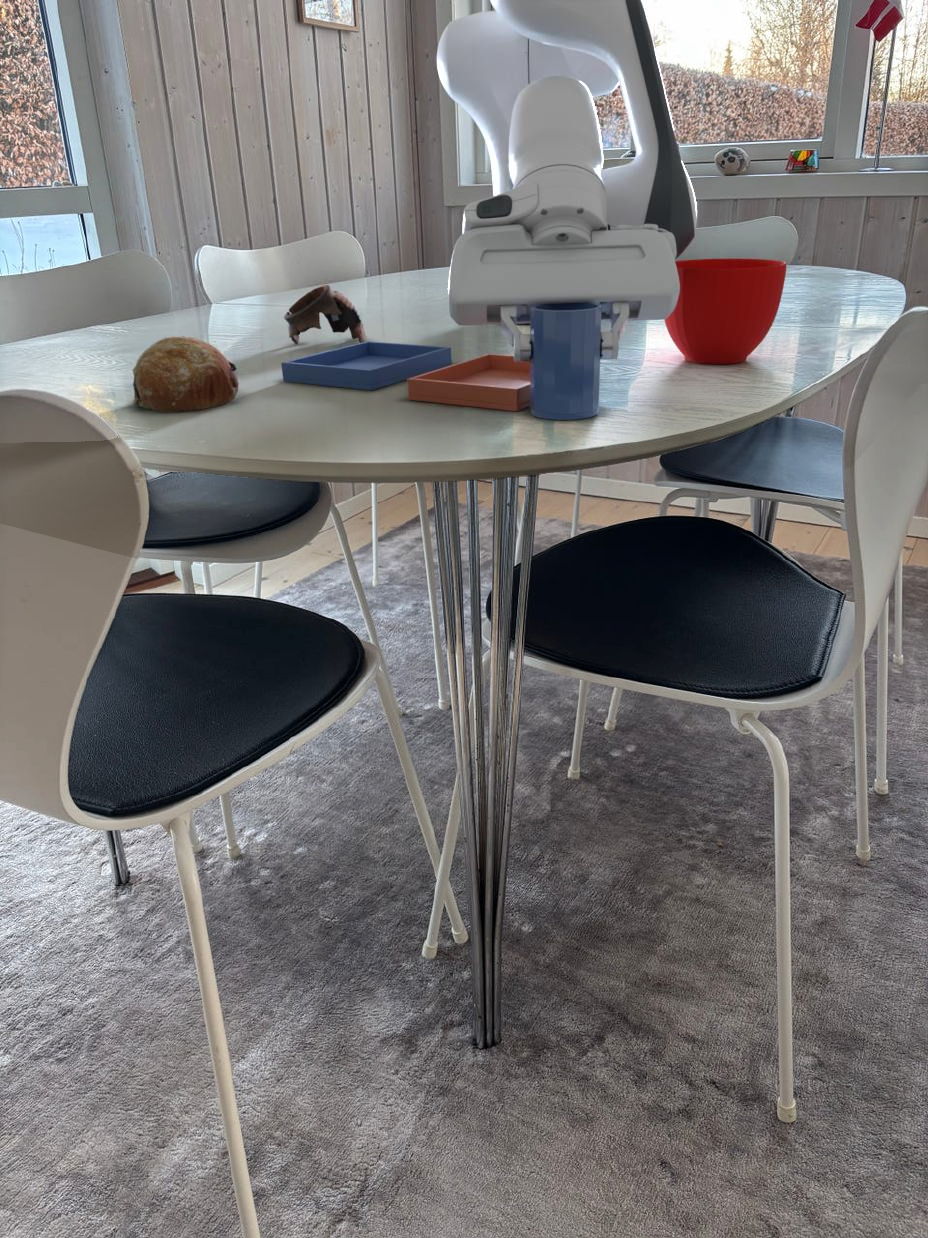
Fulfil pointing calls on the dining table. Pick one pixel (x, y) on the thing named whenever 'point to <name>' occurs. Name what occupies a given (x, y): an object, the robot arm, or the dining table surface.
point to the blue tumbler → (565, 360)
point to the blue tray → (366, 365)
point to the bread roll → (183, 376)
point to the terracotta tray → (476, 383)
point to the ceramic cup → (725, 307)
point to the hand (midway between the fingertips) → (565, 356)
